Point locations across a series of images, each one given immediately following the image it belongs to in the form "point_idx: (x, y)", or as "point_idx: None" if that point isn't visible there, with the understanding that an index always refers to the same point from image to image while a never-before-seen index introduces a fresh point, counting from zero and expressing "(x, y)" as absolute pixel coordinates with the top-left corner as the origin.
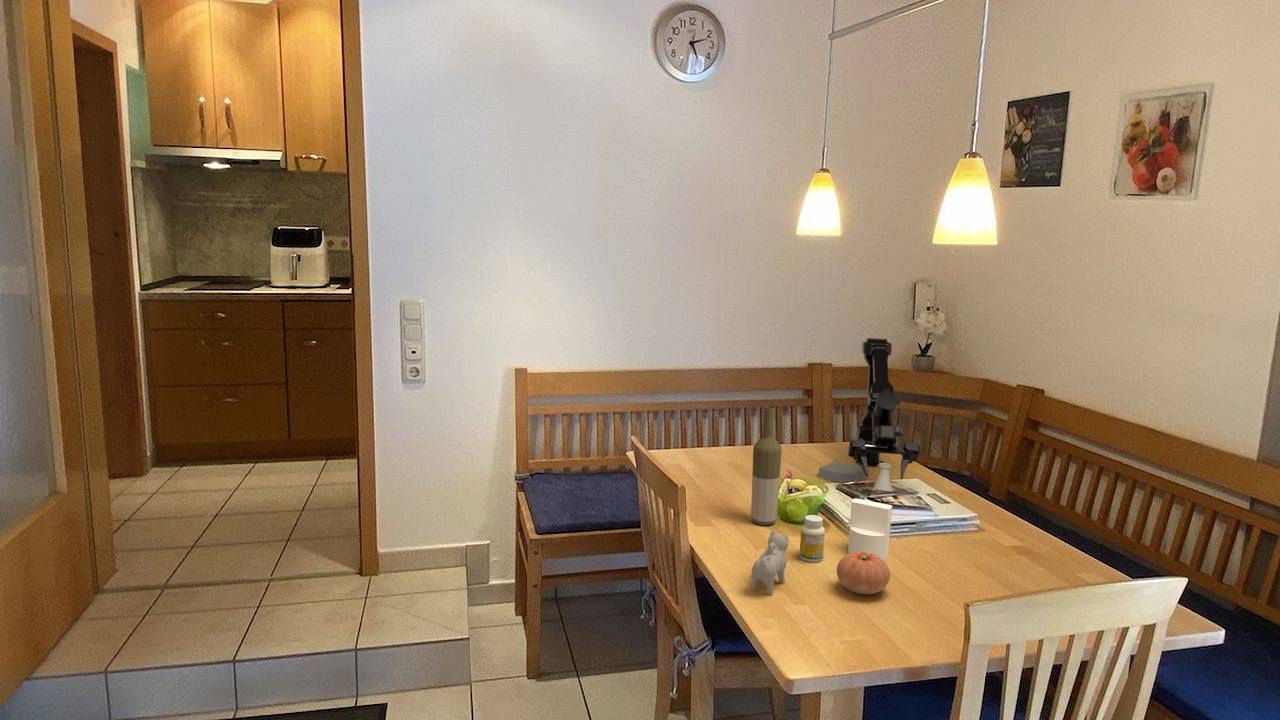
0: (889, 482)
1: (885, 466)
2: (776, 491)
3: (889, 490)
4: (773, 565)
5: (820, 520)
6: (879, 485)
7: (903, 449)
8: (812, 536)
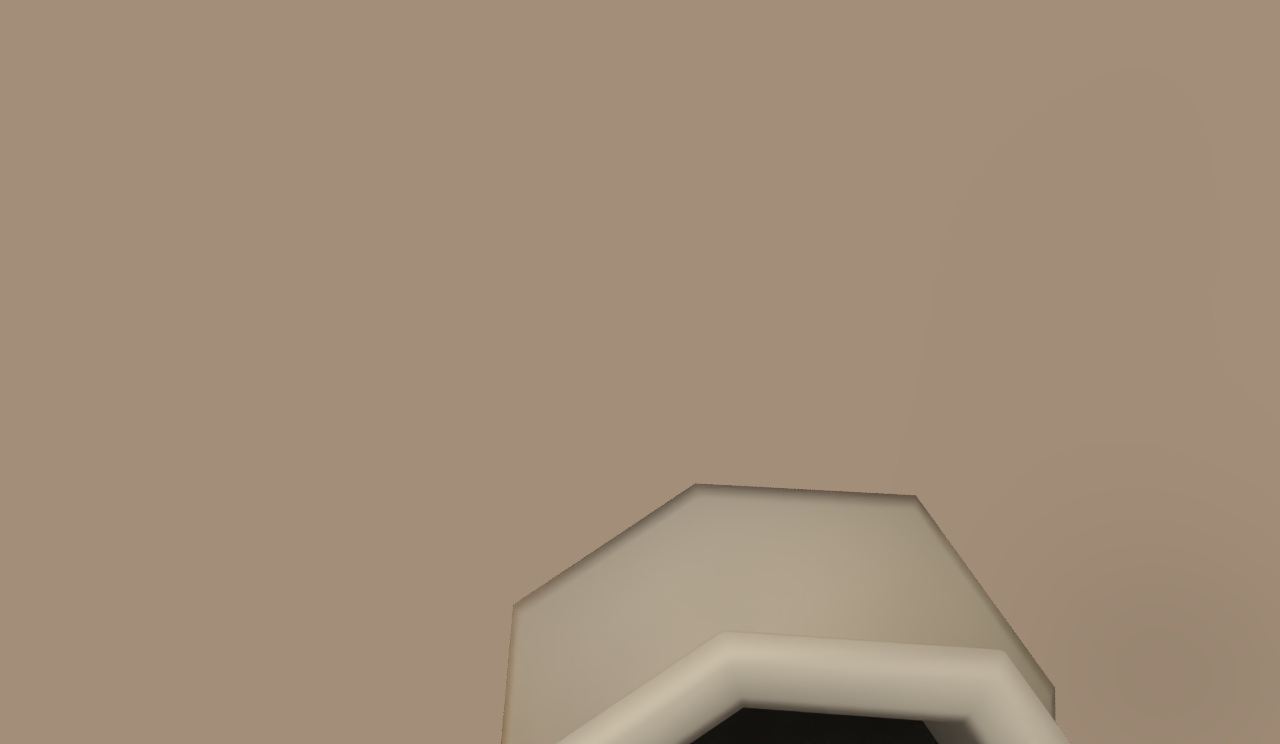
0: (585, 695)
1: (745, 639)
2: None
3: (593, 628)
4: None
5: None
6: (869, 589)
7: None
8: None
